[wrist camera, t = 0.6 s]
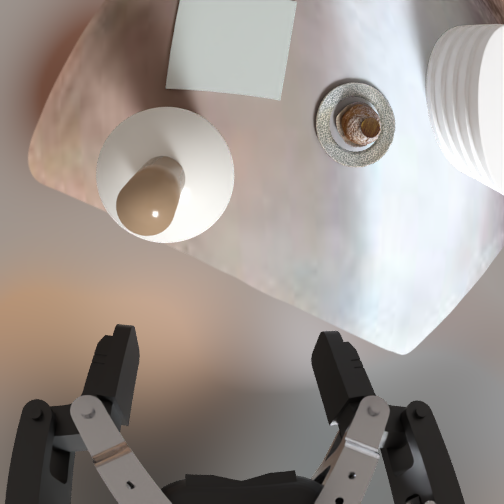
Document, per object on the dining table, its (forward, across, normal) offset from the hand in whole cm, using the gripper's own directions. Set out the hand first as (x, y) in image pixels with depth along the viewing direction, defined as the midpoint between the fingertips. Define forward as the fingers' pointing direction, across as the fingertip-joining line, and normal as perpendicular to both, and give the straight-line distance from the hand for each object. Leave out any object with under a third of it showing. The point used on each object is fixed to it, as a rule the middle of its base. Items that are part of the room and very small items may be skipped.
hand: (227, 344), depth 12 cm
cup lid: (+14, +5, -3) cm, 15 cm away
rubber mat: (+30, 0, -16) cm, 34 cm away
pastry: (+30, -17, -8) cm, 36 cm away
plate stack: (+30, -42, -19) cm, 55 cm away
